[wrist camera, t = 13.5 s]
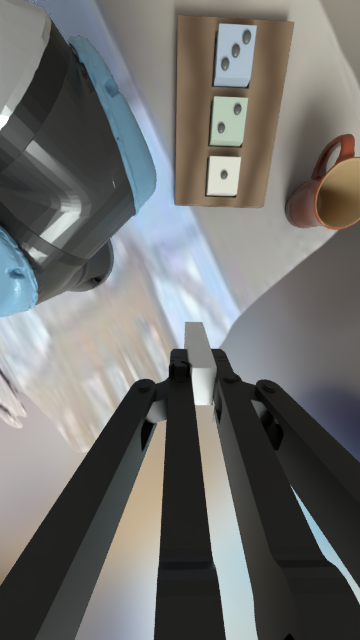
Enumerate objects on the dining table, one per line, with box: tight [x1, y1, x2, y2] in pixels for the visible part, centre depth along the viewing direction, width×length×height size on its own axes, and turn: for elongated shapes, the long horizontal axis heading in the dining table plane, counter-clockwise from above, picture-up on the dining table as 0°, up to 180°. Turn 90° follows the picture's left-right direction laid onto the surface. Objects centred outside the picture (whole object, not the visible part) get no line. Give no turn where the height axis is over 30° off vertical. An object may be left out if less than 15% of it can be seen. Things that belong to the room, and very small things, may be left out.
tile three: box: [212, 24, 257, 89], centre depth 28 cm, size 5×5×4 cm
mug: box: [286, 134, 360, 230], centre depth 31 cm, size 12×9×10 cm
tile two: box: [208, 96, 248, 148], centre depth 30 cm, size 5×5×4 cm
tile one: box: [205, 156, 241, 198], centre depth 33 cm, size 5×5×4 cm
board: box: [175, 15, 294, 208], centre depth 31 cm, size 16×22×2 cm
